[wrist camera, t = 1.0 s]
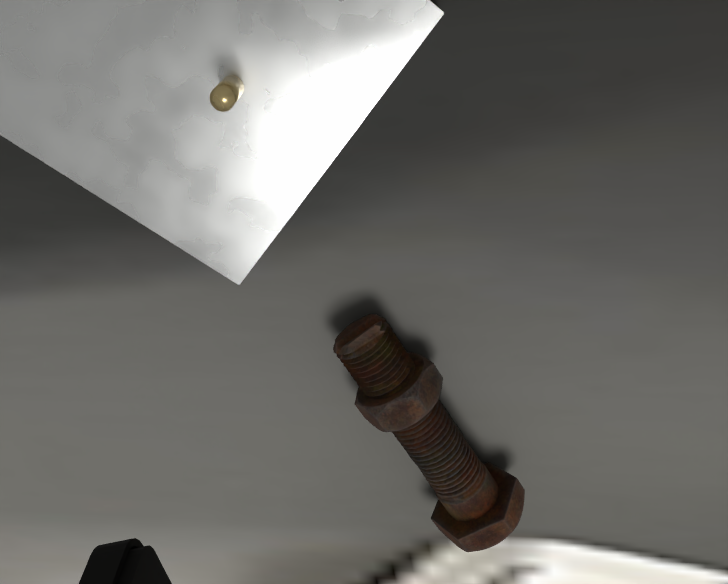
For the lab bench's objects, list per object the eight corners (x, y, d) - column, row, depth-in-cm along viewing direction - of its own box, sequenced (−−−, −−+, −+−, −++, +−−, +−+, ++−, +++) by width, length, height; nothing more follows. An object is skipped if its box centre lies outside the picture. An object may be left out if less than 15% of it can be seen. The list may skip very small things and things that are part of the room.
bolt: (365, 292, 38) (483, 468, 43) (299, 349, 36) (429, 523, 42) (418, 307, 32) (544, 504, 38) (343, 374, 31) (485, 569, 36)
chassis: (-43, -411, 23) (-125, -493, 19) (439, 10, 29) (456, 17, 25) (-196, -7, 28) (-285, -3, 24) (242, 272, 34) (230, 313, 30)
